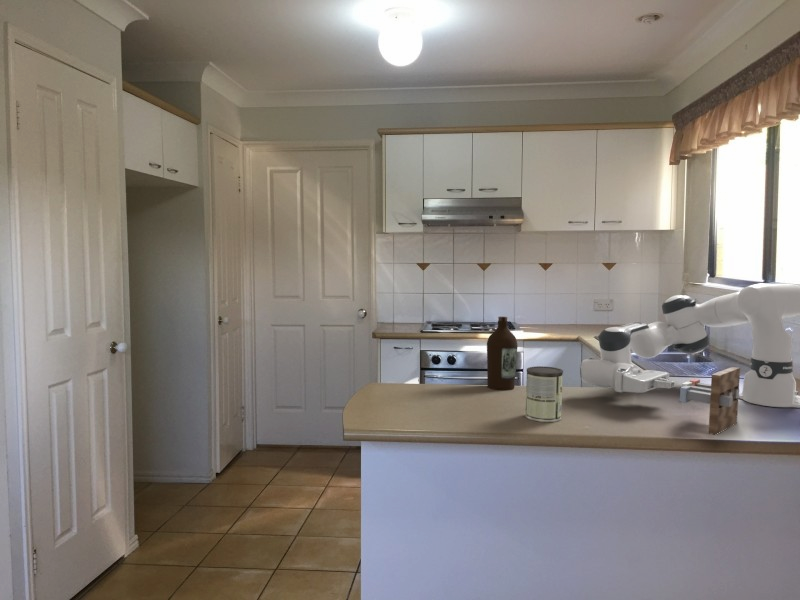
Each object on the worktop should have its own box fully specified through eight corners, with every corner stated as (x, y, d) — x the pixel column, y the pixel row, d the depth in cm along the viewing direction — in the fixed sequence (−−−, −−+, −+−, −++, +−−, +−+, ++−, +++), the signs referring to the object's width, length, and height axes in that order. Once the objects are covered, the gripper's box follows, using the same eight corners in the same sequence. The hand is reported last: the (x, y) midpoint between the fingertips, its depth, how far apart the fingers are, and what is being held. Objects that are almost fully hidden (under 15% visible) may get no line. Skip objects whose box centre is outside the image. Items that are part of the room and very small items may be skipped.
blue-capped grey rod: (685, 399, 179) (685, 385, 178) (733, 407, 170) (733, 393, 169) (679, 401, 176) (680, 387, 175) (728, 410, 167) (728, 395, 167)
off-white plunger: (686, 395, 184) (687, 381, 184) (732, 403, 175) (733, 388, 175) (681, 397, 181) (681, 383, 181) (727, 405, 173) (728, 390, 172)
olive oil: (479, 386, 225) (481, 316, 223) (501, 383, 230) (503, 314, 228) (499, 392, 216) (502, 319, 214) (522, 388, 222) (524, 317, 220)
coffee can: (521, 412, 189) (523, 366, 187) (555, 413, 189) (557, 366, 188) (529, 422, 178) (531, 372, 177) (565, 422, 179) (567, 373, 178)
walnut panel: (729, 421, 182) (732, 366, 181) (736, 423, 181) (740, 367, 180) (708, 433, 170) (711, 374, 169) (716, 434, 169) (719, 375, 168)
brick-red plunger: (694, 392, 188) (694, 378, 188) (739, 399, 180) (740, 385, 179) (688, 394, 186) (689, 380, 185) (735, 401, 177) (735, 387, 176)
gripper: (641, 382, 208) (685, 390, 198) (613, 392, 193) (658, 400, 183) (642, 363, 207) (686, 370, 198) (614, 372, 193) (659, 379, 183)
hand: (672, 385), depth 190 cm, fingers closed
